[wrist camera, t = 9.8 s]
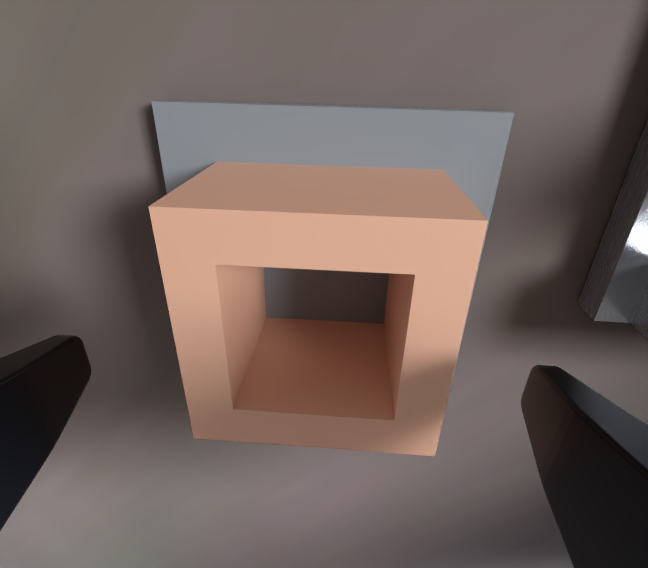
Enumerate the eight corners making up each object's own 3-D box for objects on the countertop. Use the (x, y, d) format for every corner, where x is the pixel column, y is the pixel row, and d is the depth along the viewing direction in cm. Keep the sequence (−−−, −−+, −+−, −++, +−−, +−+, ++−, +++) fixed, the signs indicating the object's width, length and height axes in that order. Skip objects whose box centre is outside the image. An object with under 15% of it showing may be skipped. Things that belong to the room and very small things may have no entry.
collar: (414, 353, 13) (434, 455, 10) (235, 342, 14) (193, 438, 10) (443, 169, 10) (487, 221, 7) (217, 161, 11) (148, 206, 7)
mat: (446, 380, 14) (449, 392, 14) (202, 364, 15) (197, 375, 14) (506, 110, 10) (514, 113, 10) (161, 99, 11) (151, 101, 10)
